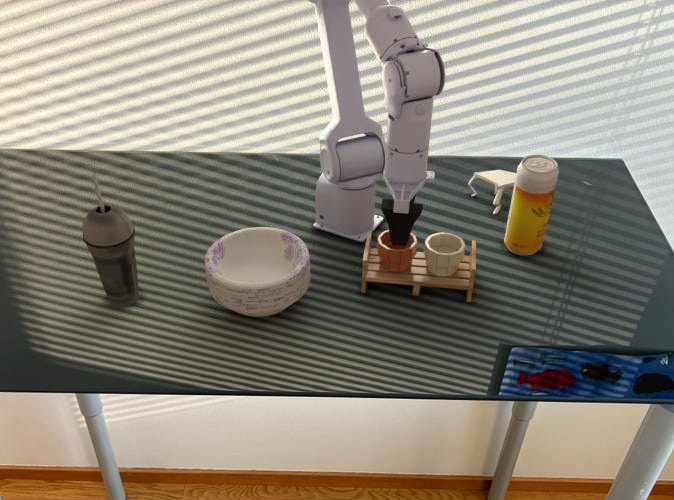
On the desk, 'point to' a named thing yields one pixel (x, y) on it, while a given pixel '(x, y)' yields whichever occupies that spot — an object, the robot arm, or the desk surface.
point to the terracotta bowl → (395, 253)
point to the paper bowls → (258, 270)
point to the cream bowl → (443, 253)
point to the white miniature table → (495, 183)
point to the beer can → (531, 204)
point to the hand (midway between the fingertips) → (401, 229)
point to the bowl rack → (418, 272)
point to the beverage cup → (112, 250)
